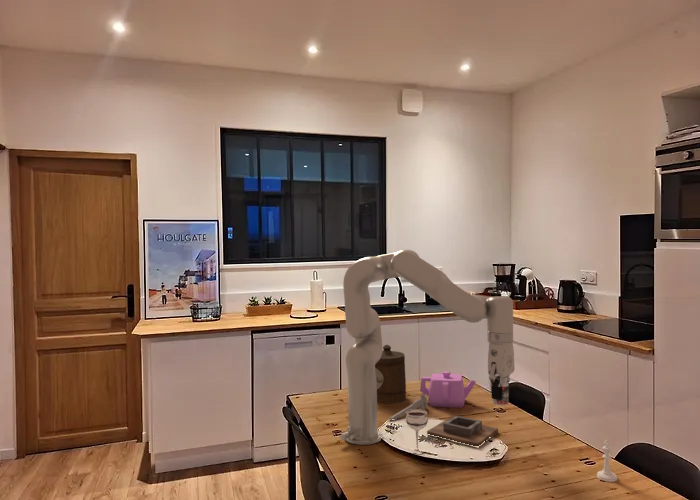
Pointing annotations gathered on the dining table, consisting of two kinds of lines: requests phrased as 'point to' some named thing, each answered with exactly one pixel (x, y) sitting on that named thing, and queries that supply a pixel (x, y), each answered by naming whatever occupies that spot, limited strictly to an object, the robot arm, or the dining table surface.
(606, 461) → the chess piece
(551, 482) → the dining table surface
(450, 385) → the teakettle
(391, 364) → the wooden container
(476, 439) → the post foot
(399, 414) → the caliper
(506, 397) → the pill bottle
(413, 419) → the wineglass
